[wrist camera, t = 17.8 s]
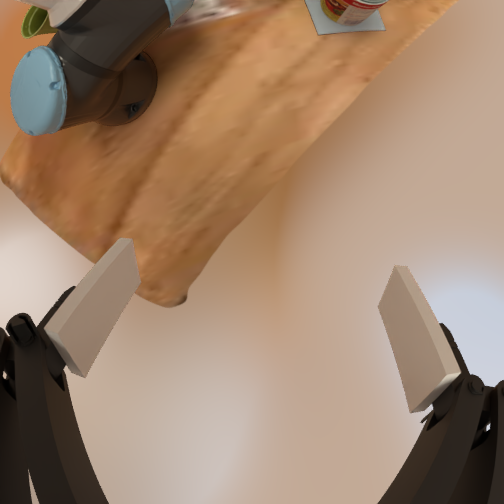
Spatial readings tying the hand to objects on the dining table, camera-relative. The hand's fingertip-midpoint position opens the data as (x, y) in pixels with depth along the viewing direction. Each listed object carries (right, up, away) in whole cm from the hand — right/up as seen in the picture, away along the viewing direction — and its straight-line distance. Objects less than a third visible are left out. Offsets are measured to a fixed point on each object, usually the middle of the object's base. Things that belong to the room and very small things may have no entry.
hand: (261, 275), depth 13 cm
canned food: (+14, +40, +14) cm, 45 cm away
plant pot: (-41, +50, +15) cm, 66 cm away
